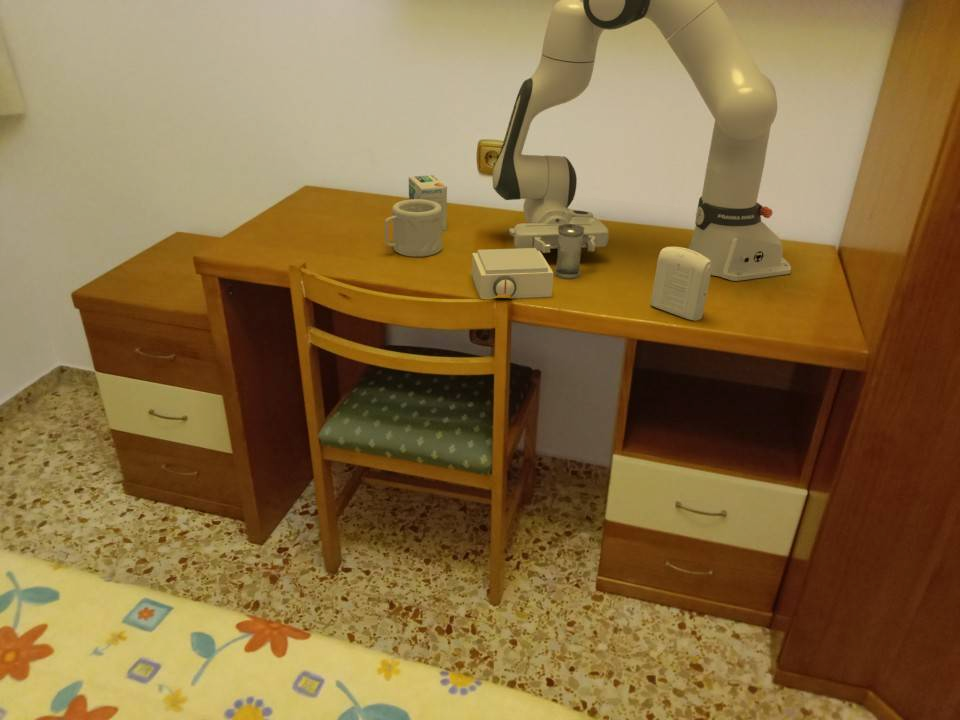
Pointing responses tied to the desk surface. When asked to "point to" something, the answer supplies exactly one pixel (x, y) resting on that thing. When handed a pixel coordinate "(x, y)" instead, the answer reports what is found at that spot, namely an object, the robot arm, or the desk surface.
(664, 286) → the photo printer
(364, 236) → the desk surface
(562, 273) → the glass jar
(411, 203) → the mug
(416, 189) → the light bulb box
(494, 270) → the scale
